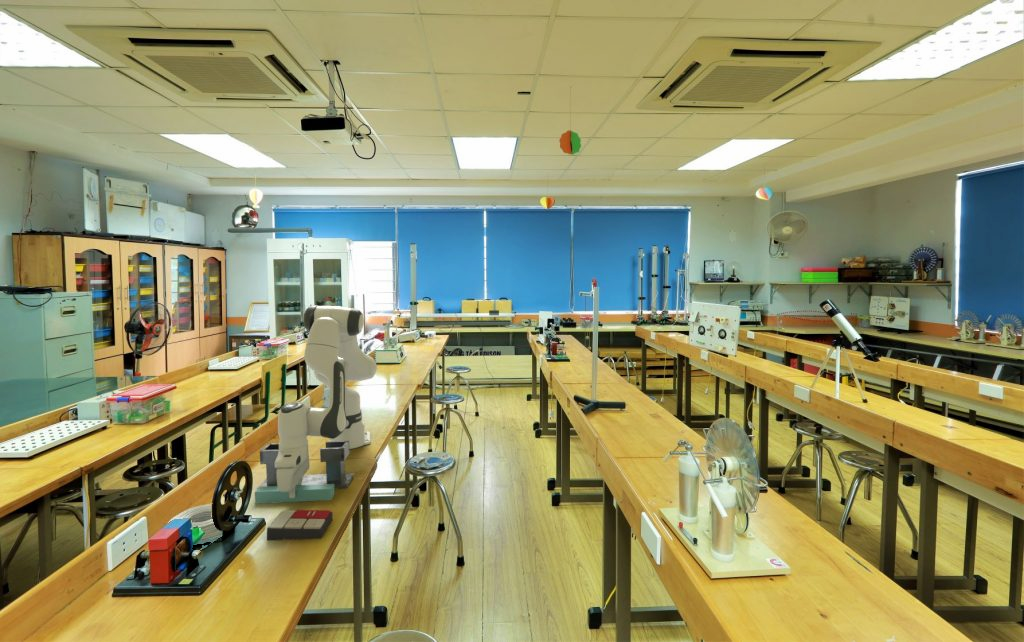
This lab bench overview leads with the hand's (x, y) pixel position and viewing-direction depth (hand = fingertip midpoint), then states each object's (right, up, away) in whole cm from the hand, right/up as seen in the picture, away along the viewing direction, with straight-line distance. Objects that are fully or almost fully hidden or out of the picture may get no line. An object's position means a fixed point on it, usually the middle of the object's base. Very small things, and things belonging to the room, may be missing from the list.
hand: (295, 493), depth 163 cm
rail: (0, -2, 0) cm, 2 cm away
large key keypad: (+10, -4, -20) cm, 23 cm away
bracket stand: (-1, -1, +12) cm, 12 cm away
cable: (-17, -4, -22) cm, 28 cm away
